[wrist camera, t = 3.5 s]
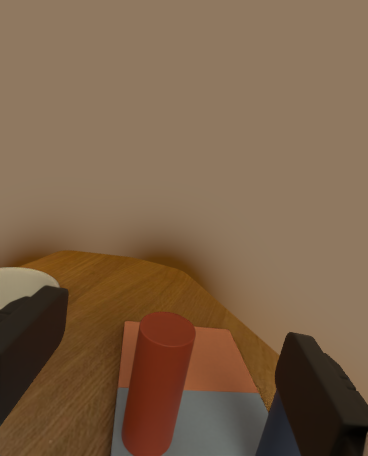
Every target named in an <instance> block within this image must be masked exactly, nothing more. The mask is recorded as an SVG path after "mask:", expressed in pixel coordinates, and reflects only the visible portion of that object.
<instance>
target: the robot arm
mask: <svg viewBox="0 0 368 456" xmlns="http://www.w3.org/2000/svg"><path fill="white" fill-rule="evenodd" d="M67 304H68V290H67V289H65V288H60V287H54V286H49V285H44V286H43V287H42V288H41V289H39V290H38V291H37V292H36V293H35V294H33V295H32V296H31V297H29V296H24V297H22V298H19V299H17V300H14V301H12V302H10V303H8V304H7V305H6V306H5V307H3V308H2V309H1V310H0V426H1V424H2V423H3V422H4V420H5V419H6V418H7V416H8V415H9V413H10V412H11V411H12V409H13V408H14V407H15V405H16V404H17V402H18V401H19V400H20V398H21V397H22V395H23V394H24V393H25V391H26V390H27V389H28V387H29V386H30V384H31V383H32V382H33V380H34V379H35V378H36V376H37V375H38V373H39V372H40V371H41V369H42V368H43V366H44V365H45V364H46V362H47V361H48V360H49V358H50V357H51V355H52V354H53V353H54V351H55V350H56V348H57V347H58V346H59V344H60V342H61V340H62V337H63V334H64V331H65V324H66V314H67ZM275 384H276V388H277V391H278V394H279V397H280V399H281V402H282V405H283V408H284V410H285V413H286V416H287V419H288V421H289V424H290V427H291V430H292V432H293V435H294V438H295V441H296V443H297V446H298V449H299V452H300V454H301V456H368V405H367V403H366V402H365V400H364V399H363V398H362V396H361V395H360V393H359V392H358V391H356V388H355V386H354V385H353V384H352V382H351V381H350V380H348V376H347V375H346V374H345V372H344V371H343V369H342V368H341V367H340V365H339V364H337V363H336V362H335V361H334V360H333V359H332V358H330V356H328V355H327V354H326V353H323V351H322V350H321V348H320V347H319V345H318V344H317V342H316V341H315V339H314V338H313V337H311V336H308V335H303V334H298V333H293V332H289V333H288V334H287V336H286V338H285V341H284V344H283V347H282V351H281V354H280V357H279V360H278V363H277V366H276V370H275Z"/></svg>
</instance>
